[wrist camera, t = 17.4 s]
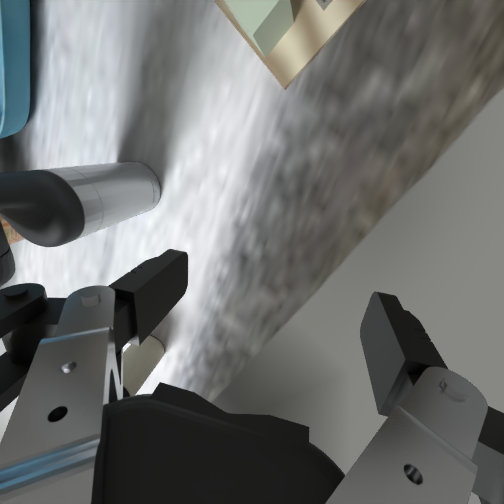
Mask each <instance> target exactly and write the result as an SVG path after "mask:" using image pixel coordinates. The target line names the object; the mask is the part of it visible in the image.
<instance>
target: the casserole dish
mask: <svg viewBox="0 0 504 504" xmlns="http://www.w3.org/2000/svg"><path fill="white" fill-rule="evenodd" d="M29 108H30V0H0V138H4V137H7V136H10V135H12V134H15V133H17V132H19V131H20V130H21V129H22V128H23V127H24V126H25V124H26V122H27V119H28V115H29Z"/></svg>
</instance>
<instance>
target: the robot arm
mask: <svg viewBox="0 0 504 504" xmlns="http://www.w3.org/2000/svg"><path fill="white" fill-rule="evenodd" d="M159 199H160V185H159V182H158V179H157V178H156V176H155V174H154V173H153V172H152V170H151V169H150V168H148V167H147V166H146V165H144V164H142V163H139V162H134V161H133V162H121V163H109V164H97V165H86V166H75V167H64V168H54V169H43V170H32V171H22V172H10V173H0V215H1V216H2V217H3V218H4V219H5V220H6V221H7V222H8V223H9V224H10V226H11V227H12V228H13V229H14V230H15V231H16V232H17V233H19V234H20V235H21V236H22V237H24V238H25V239H27V240H28V241H30V242H32V243H34V244H36V245H39V246H44V247H56V246H60V245H63V244H66V243H68V242H71V241H73V240H76V239H78V238H81V237H83V236H86V235H88V234H91V233H93V232H96V231H98V230H101V229H103V228H106V227H109V226H111V225H114V224H116V223H119V222H121V221H124V220H126V219H129V218H131V217H134V216H137V215H139V214H142V213H144V212H147V211H149V210H151V209H153V208H154V207H155V206H156V205H157V203H158V202H159ZM14 273H15V262H14V257H13V254H12V251H11V249H10V246H9V243H8V240H7V237H6V234H5V232H4V229H3V226H2V223H1V220H0V287H1V286H2V285H4V284H5V283H6V282H8V281H9V280H10V279H11V278H12V276H13V275H14ZM187 286H188V255H187V253H186V252H183V251H178V250H173V249H169V250H167V251H166V252H164V253H163V254H161V255H160V256H159V257H155V258H152V259H149V260H146V261H144V262H143V263H141V264H140V265H138V266H137V267H135V268H134V269H133V270H131V272H128V273H127V274H125V275H124V276H122V277H121V278H119V279H118V280H116V281H115V282H113V283H112V284H111V285H109V286H108V287H107V286H89V287H85V288H82V289H79V290H77V291H75V292H73V293H72V294H70V295H69V296H68V297H67V298H47V295H46V291H45V288H44V287H43V286H42V285H40V284H35V283H25V284H18V285H13V286H10V287H6V288H4V289H1V290H0V338H2V340H3V343H4V346H5V348H6V351H7V352H5V353H4V354H3V355H1V356H0V412H1V411H2V410H3V409H4V408H5V407H6V406H7V405H9V404H10V403H11V402H12V401H13V400H14V399H15V398H17V397H18V396H19V397H18V400H17V402H16V405H15V407H14V410H13V412H12V415H11V417H10V420H9V423H8V425H7V428H6V431H5V433H4V435H3V438H2V441H1V443H0V504H468V501H469V498H470V495H471V492H473V493H475V494H476V495H478V496H479V499H480V501H481V504H504V413H502V412H500V411H497V410H495V409H493V408H491V407H489V406H488V404H487V401H486V399H485V398H484V396H483V395H482V393H481V392H480V391H479V390H478V389H477V388H476V387H475V386H474V385H473V384H472V383H471V382H469V381H468V380H467V379H465V378H464V377H462V376H460V375H459V374H457V373H455V372H453V371H451V370H449V369H448V368H447V366H446V365H445V363H444V361H443V360H442V358H441V356H440V354H439V353H438V351H437V349H436V348H435V346H434V344H433V343H432V342H431V341H430V340H431V339H430V338H429V336H428V334H427V333H425V329H424V328H423V326H422V324H421V323H420V321H419V320H418V319H417V318H416V317H414V316H413V315H412V314H411V313H410V312H409V311H406V310H404V309H403V308H402V306H401V304H400V302H399V300H398V298H397V297H396V296H395V295H390V294H385V293H380V292H374V293H373V294H372V296H371V298H370V301H369V304H368V307H367V309H366V312H365V315H364V318H363V320H362V323H361V329H360V338H361V342H362V346H363V350H364V355H365V359H366V363H367V368H368V372H369V376H370V380H371V384H372V388H373V393H374V397H375V401H376V405H377V410H378V413H379V414H380V415H384V416H387V417H388V418H387V419H386V421H385V422H384V423H383V425H382V426H381V428H380V429H379V430H378V432H377V433H376V435H375V436H374V437H373V439H372V440H371V441H370V443H369V444H368V446H367V447H366V448H365V450H364V451H363V453H362V454H361V455H360V457H359V458H358V459H357V461H356V462H355V463H354V465H353V466H352V468H351V469H350V471H349V472H348V473H347V474H346V476H345V474H344V473H343V472H342V470H341V469H340V468H339V467H338V466H337V465H336V464H335V463H334V461H332V460H331V459H330V458H329V457H328V456H327V455H326V454H325V453H324V452H323V451H321V450H320V449H318V448H317V447H316V446H315V445H313V444H311V443H310V442H309V427H307V426H304V425H301V424H298V423H294V422H291V421H288V420H284V419H281V418H278V417H274V416H271V415H253V414H230V413H226V412H224V411H223V410H221V409H219V408H218V407H216V406H215V405H213V404H212V403H210V402H208V401H207V400H205V399H204V398H202V397H201V396H199V395H197V394H196V393H194V392H191V391H188V390H185V389H181V388H178V387H175V386H171V385H168V384H165V383H161V382H160V383H159V384H158V386H157V387H156V389H155V390H154V392H153V394H142V395H135V396H130V397H126V398H123V347H124V346H125V345H126V344H127V343H130V344H133V345H137V346H140V345H141V344H142V342H143V341H144V340H145V339H146V338H147V337H148V336H149V334H150V333H151V332H152V331H153V330H154V329H155V328H156V326H157V325H158V324H159V323H160V322H161V321H162V320H163V318H164V317H165V316H166V315H167V314H168V313H169V312H170V310H171V309H172V308H173V307H174V306H175V305H176V304H177V302H178V301H179V300H180V299H181V298H182V297H183V295H184V294H185V292H186V289H187Z"/></svg>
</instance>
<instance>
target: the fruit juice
mask: <svg viewBox="0 0 504 504" xmlns="http://www.w3.org/2000/svg"><path fill="white" fill-rule="evenodd" d="M0 220H1V223H2V226H3V229H4V232H5V234H6V237H7V240H8V243H9V244H12V243H15V242H18V241H21V240H24V239H25V238H24V237H22V236H21V235H20V234H19V233H17V232H16V231H15V230H14V229H13V228H12V227H11V226H10V224H9V223H8V222H7V221H6V220H5V219H4V218H3V217H2V216H1V215H0Z"/></svg>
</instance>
